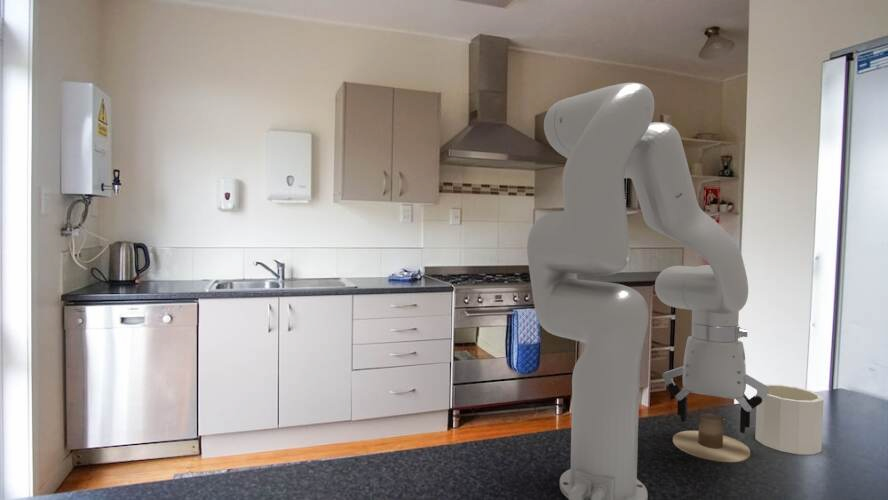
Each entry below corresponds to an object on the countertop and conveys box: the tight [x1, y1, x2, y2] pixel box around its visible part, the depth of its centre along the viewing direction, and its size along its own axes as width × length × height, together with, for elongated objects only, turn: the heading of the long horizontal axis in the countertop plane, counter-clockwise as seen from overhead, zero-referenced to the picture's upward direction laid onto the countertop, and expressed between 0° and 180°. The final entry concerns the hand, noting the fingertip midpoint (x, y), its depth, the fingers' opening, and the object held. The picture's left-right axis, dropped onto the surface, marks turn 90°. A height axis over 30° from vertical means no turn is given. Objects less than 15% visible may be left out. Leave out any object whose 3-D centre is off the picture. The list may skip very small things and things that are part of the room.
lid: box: [672, 412, 751, 463], centre depth 94 cm, size 13×13×6 cm
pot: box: [754, 384, 824, 456], centre depth 96 cm, size 10×10×10 cm
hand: (712, 424), depth 95 cm, fingers open, 9 cm apart
